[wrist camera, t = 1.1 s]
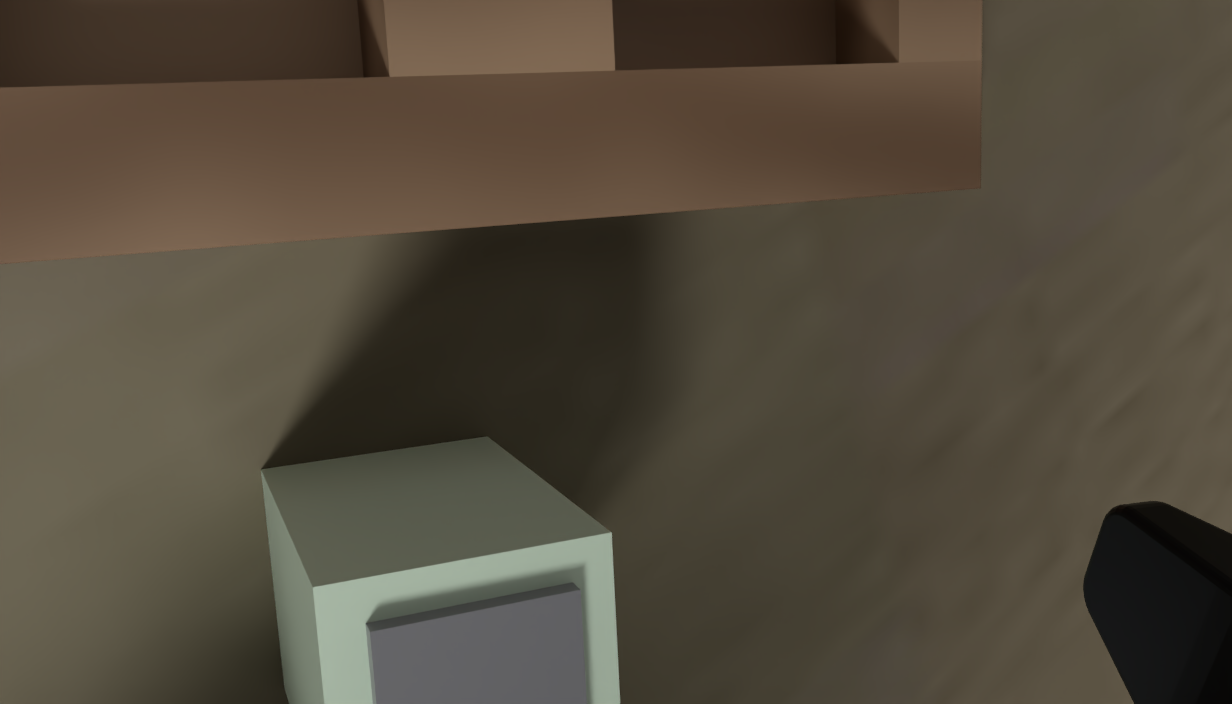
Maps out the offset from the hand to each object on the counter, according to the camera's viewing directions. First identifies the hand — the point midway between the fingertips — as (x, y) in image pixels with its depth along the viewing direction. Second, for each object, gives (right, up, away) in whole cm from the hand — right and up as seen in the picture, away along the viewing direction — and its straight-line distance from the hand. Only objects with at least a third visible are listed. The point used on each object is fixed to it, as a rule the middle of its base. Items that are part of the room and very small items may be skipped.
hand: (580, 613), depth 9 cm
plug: (-4, -2, +12) cm, 13 cm away
